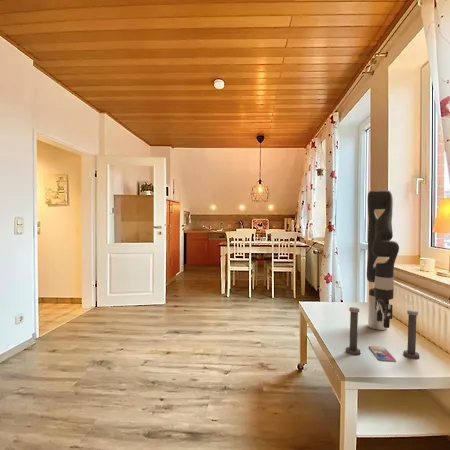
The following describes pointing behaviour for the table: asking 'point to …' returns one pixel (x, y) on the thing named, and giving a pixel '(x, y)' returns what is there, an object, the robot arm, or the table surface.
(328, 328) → the table surface
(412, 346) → the post
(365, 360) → the table surface
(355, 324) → the knob
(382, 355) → the smartphone
